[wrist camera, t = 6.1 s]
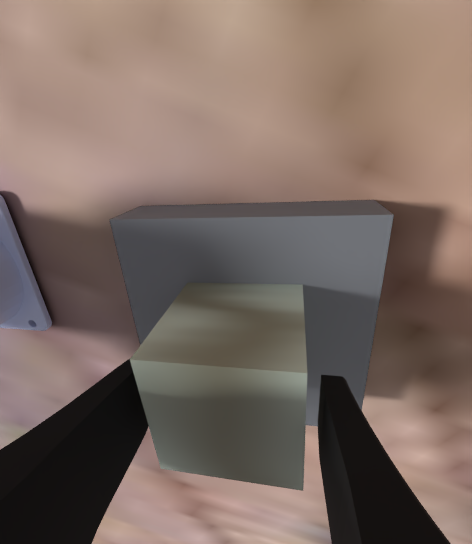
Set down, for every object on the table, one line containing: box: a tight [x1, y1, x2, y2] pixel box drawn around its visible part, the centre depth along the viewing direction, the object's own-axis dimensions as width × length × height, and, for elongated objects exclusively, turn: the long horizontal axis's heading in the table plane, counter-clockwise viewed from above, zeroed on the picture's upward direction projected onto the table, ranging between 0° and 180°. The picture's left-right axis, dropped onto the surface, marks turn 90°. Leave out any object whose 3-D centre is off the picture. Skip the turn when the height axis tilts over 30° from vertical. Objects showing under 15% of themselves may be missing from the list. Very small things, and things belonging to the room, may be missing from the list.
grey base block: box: [110, 200, 394, 426], centre depth 13 cm, size 10×10×3 cm
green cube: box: [130, 283, 307, 491], centre depth 10 cm, size 4×4×4 cm
